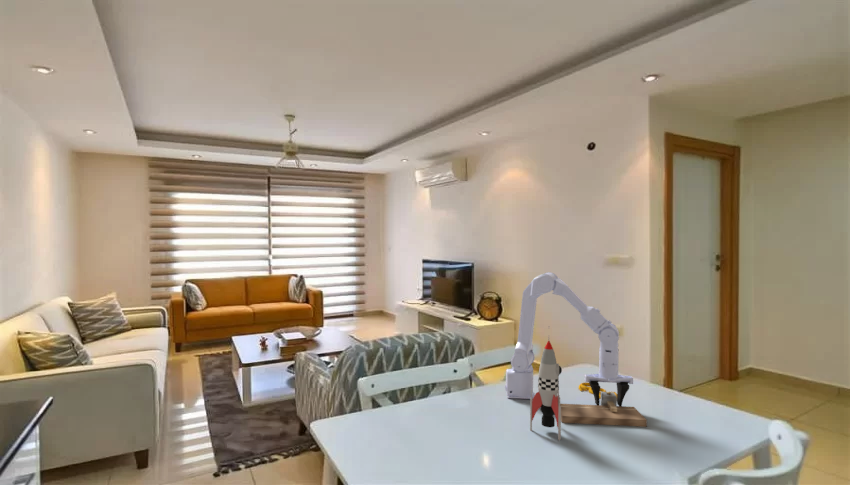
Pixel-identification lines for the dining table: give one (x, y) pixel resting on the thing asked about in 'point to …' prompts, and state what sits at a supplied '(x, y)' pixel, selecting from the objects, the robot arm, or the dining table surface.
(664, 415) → the dining table surface
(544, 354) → the toy
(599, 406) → the board
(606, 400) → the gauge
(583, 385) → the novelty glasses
